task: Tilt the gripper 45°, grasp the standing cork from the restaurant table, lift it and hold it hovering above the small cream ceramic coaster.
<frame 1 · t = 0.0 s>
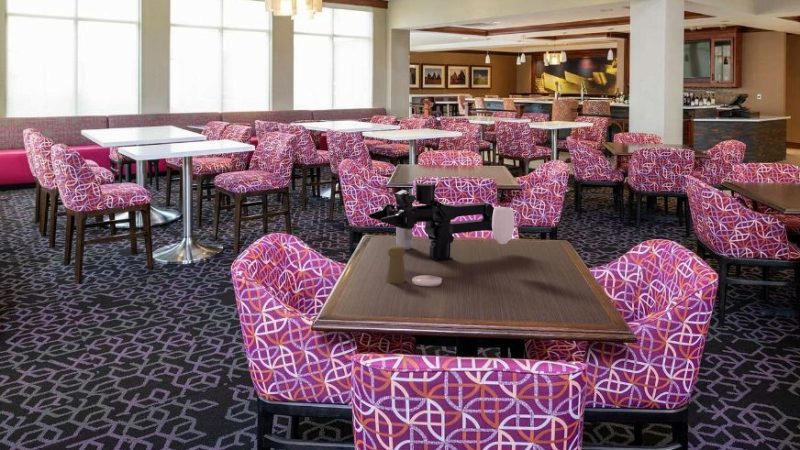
hand: (374, 217, 221), 17 cm above the table, tool horizontal, fingers open, 9 cm apart
cup: (501, 271, 219), on the table
energy drink can: (404, 248, 252), on the table
coaster: (427, 282, 205), on the table
cork: (396, 281, 207), on the table
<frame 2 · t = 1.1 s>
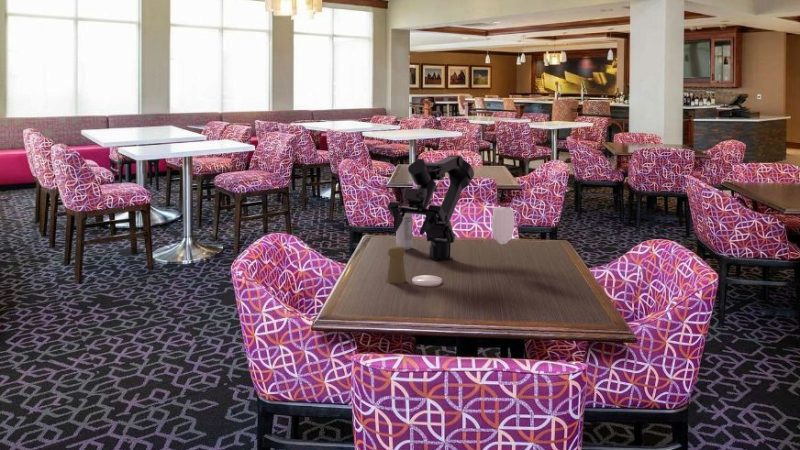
hand: (407, 232, 211), 14 cm above the table, tool tilted 45°, fingers open, 9 cm apart
nothing on the table moved.
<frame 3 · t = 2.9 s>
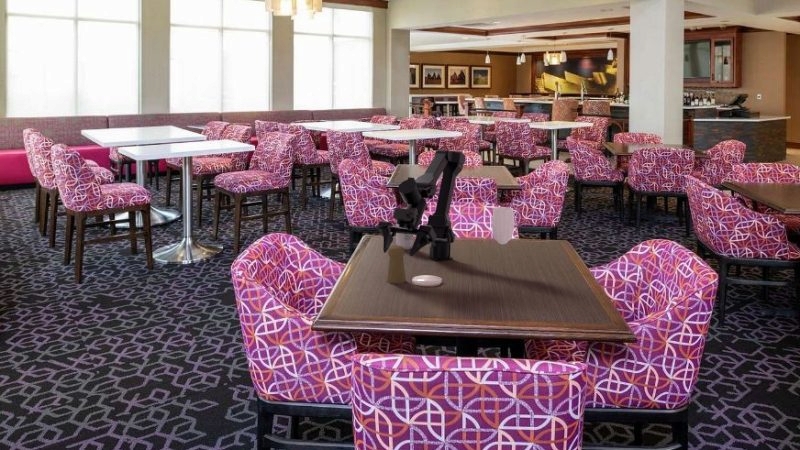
hand: (397, 253, 206), 8 cm above the table, tool tilted 45°, fingers open, 9 cm apart
nothing on the table moved.
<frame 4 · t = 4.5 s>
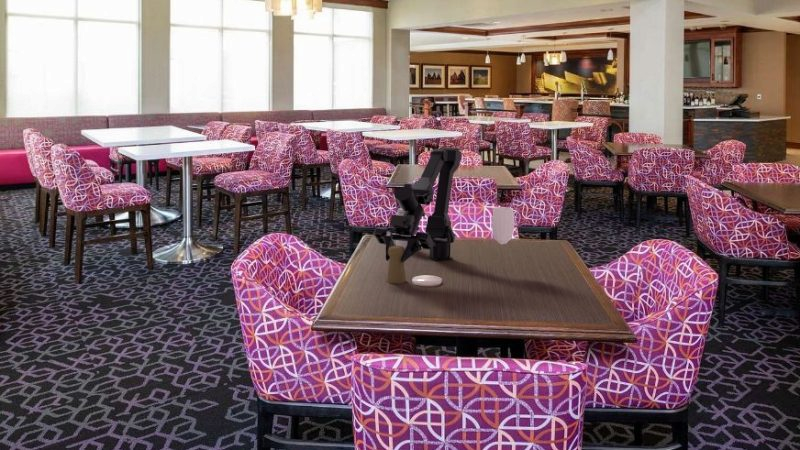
hand: (394, 261, 205), 7 cm above the table, tool tilted 45°, fingers closed on cork, 5 cm apart
cork: (396, 281, 207), on the table, touching gripper
everything else where it was.
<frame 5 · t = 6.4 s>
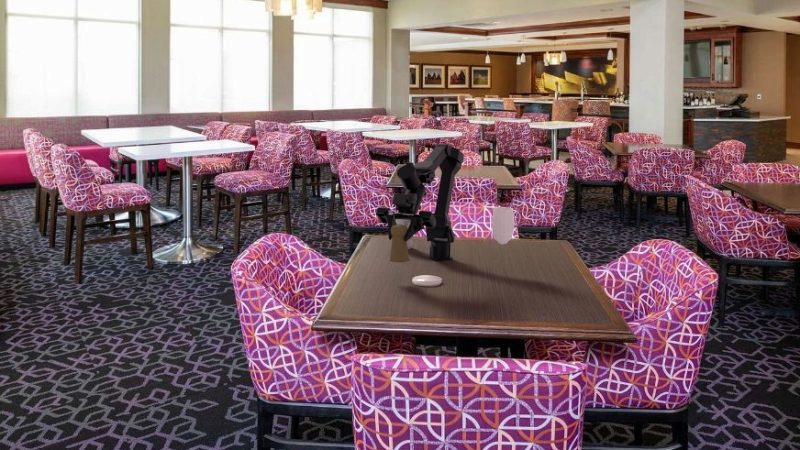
hand: (397, 239, 203), 13 cm above the table, tool tilted 45°, fingers closed on cork, 5 cm apart
cork: (399, 260, 206), point 6 cm above the table, touching gripper
everything else where it was.
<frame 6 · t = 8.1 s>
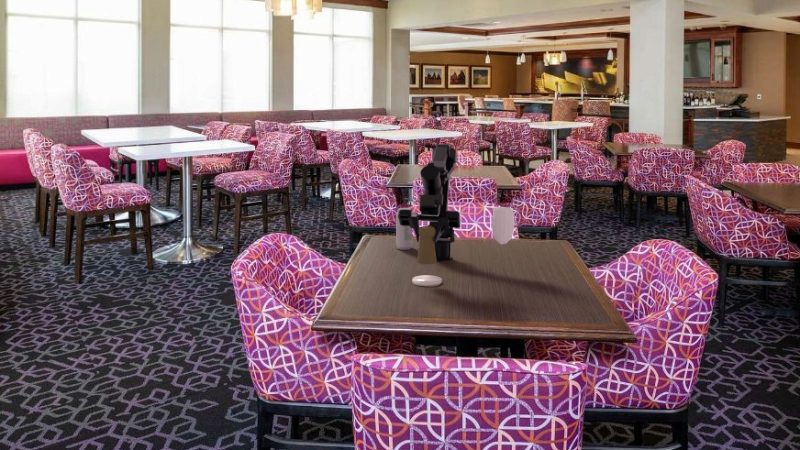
hand: (426, 241, 201), 13 cm above the table, tool tilted 45°, fingers closed on cork, 5 cm apart
cork: (426, 262, 203), point 6 cm above the table, touching gripper
everything else where it was.
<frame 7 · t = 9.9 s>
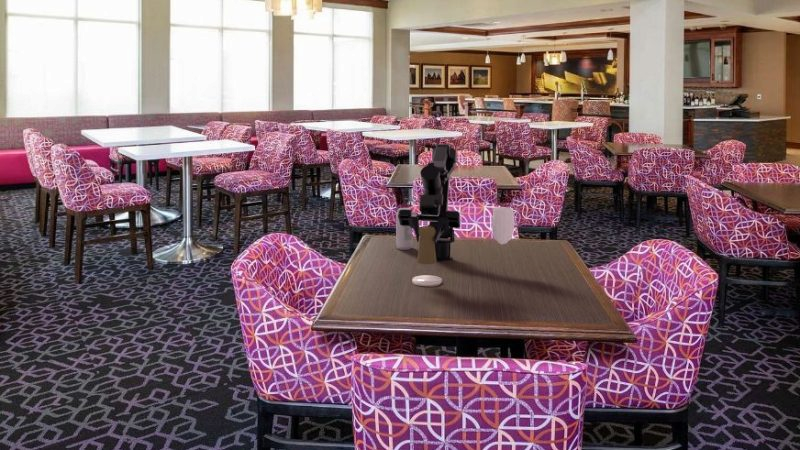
hand: (426, 241, 201), 13 cm above the table, tool tilted 45°, fingers closed on cork, 5 cm apart
cork: (426, 262, 203), point 6 cm above the table, touching gripper
everything else where it was.
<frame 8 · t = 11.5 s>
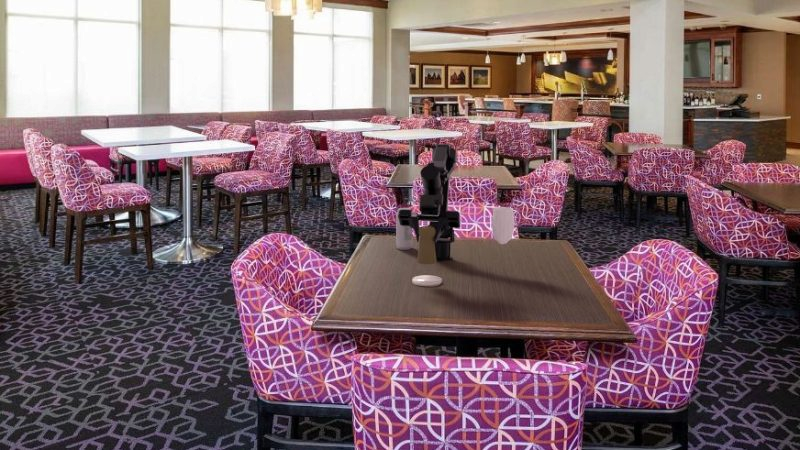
hand: (426, 241, 201), 13 cm above the table, tool tilted 45°, fingers closed on cork, 5 cm apart
cork: (426, 262, 203), point 6 cm above the table, touching gripper
everything else where it was.
at the end: the gripper is holding cork; cork inside the target area on the coaster (0.9 cm from its centre), point 6.5 cm above the coaster's base; cork tilted 0° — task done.
